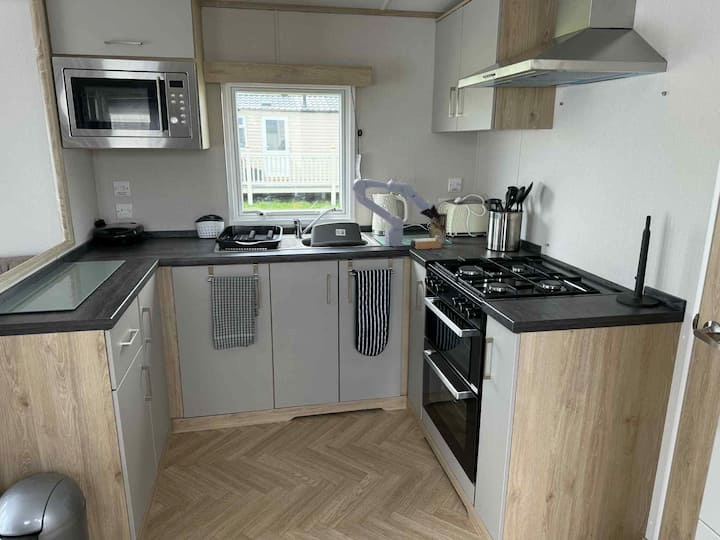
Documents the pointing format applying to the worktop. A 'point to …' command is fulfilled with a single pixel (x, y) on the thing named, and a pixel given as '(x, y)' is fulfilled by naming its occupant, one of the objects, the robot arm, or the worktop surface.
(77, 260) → the worktop surface
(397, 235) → the robot arm
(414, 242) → the pale upright slab
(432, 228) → the coffee box
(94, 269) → the worktop surface
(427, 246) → the side door
